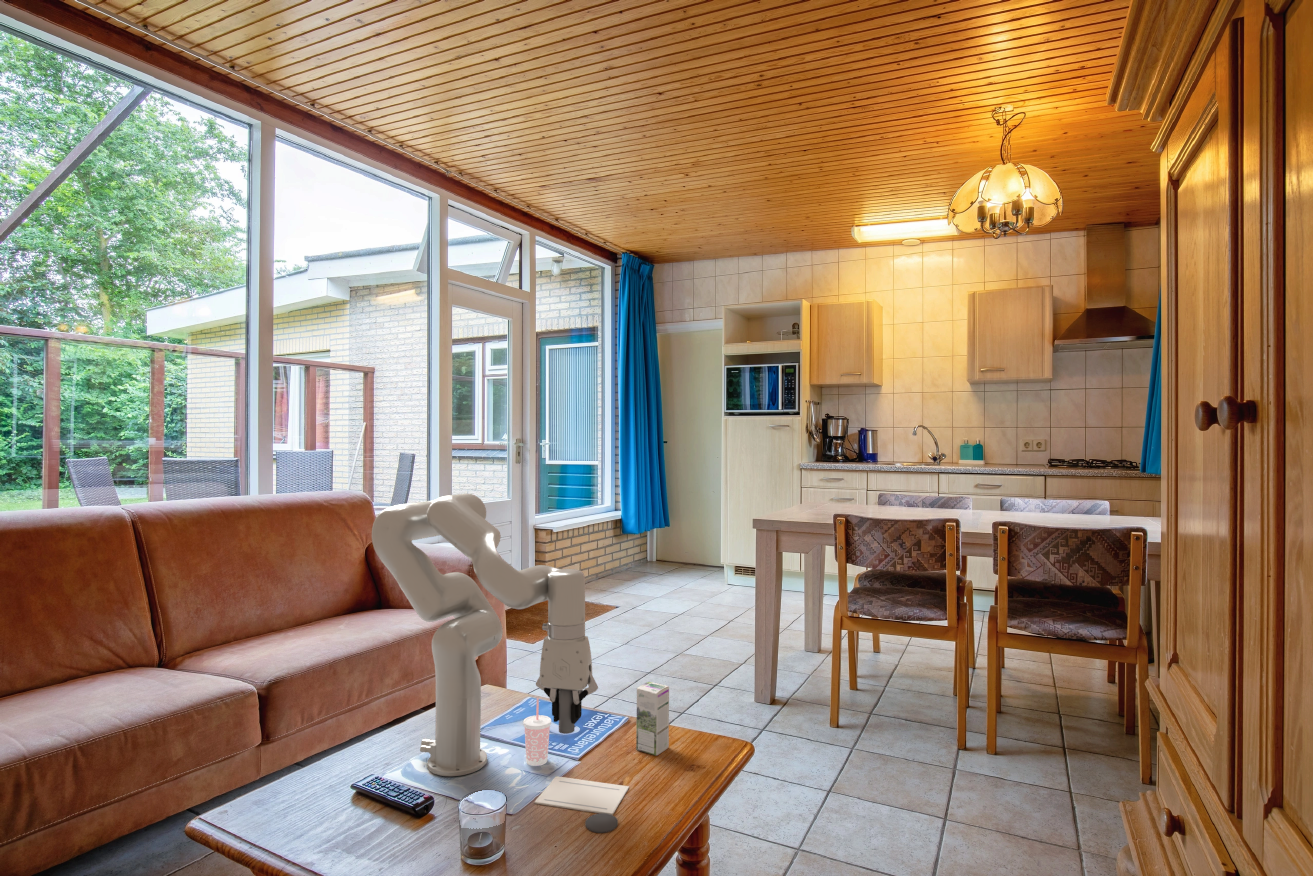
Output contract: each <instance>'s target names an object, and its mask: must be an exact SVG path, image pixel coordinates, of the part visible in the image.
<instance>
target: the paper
mask: <svg viewBox="0 0 1313 876" xmlns="http://www.w3.org/2000/svg"><path fill="white" fill-rule="evenodd" d="M629 789H630V786H629V785H621V784H616V783H615V784H614V783H606V782H600V781H593V780H587V779H578V778H570V777H565V776H555V777H554V778H553V779H552V780H551V781H550V782H549V784H548V785H547V786H546V787H545V789H544V790H543V791H542V792H541V793H540V794H539V796H538V797H537V798H536V799H535V801H534V804H536V805H543V806H549V807H556V808H557V807H558V808H563V809H568V810H569V809H570V810H575V811H582V812H587V813H589V812H590V813H595V814H600V813H605V814H610V815H613V816H614V814H615V812H616V810H617V808H618V807H619V806H620V803H621V802H622V800H623V799H624V797H625V795H626V794H627V792H628V790H629Z"/></svg>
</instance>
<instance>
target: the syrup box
mask: <svg viewBox="0 0 1313 876" xmlns="http://www.w3.org/2000/svg"><path fill="white" fill-rule="evenodd" d="M669 718H670V686H669V685H665V684H660V683H657V682H652V681H648V682H645V683H643V684H641V685H640V686H638V687H637V688H636V719H635V720H636V722H635V723H636V724H635V725H636V729H635V730H636V734H635V736H636V738H635V739H636V741H635V742H636V743H635V744H636V745H635V747H636V748H635V749H636V751H639V752H643V753H647V754H650V755H652V756H659V755H661V753H663V752H664V751H666V750H667V749H668V748H669V747H670V743H669V742H670V741H669V739H670V737H669V735H670V734H669V733H670V728H669V727H670V724H669V723H670V722H669V721H670V719H669Z"/></svg>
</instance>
